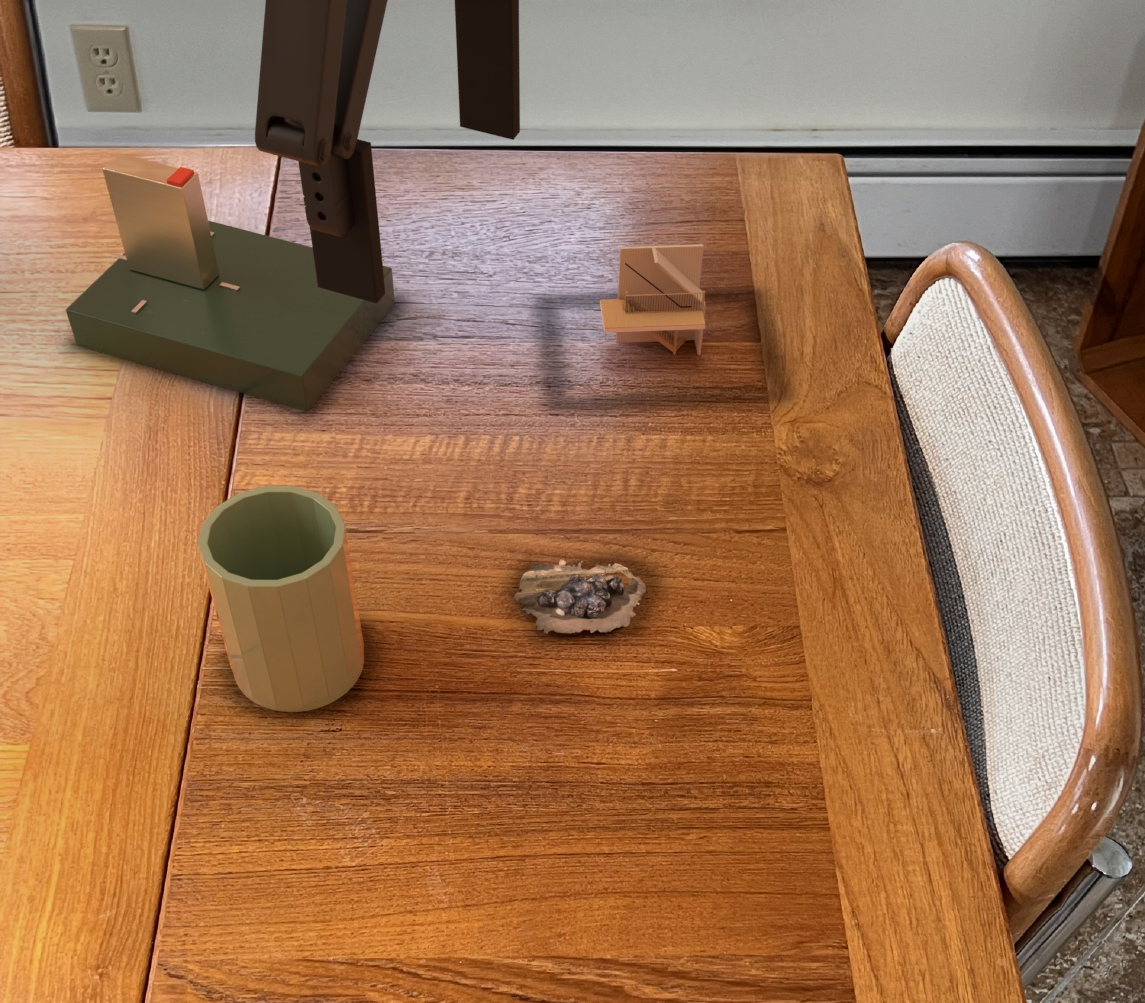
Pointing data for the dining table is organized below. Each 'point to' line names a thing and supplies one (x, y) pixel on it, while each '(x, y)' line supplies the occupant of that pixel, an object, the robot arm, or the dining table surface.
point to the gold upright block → (162, 220)
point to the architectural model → (658, 296)
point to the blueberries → (579, 597)
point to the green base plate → (233, 320)
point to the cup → (284, 596)
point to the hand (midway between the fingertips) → (425, 205)
